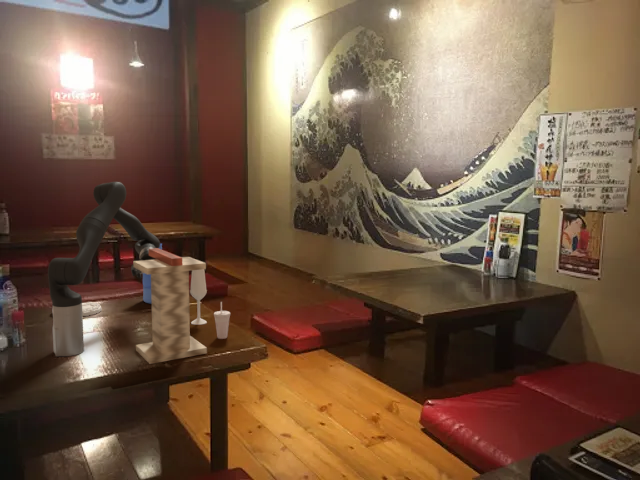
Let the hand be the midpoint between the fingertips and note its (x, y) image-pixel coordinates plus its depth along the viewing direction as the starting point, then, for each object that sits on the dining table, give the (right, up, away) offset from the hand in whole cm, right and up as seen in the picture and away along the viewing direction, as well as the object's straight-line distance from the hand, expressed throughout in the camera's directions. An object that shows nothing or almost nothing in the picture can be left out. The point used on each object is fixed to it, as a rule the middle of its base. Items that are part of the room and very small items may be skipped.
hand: (151, 273), depth 205 cm
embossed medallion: (-43, -20, +32) cm, 57 cm away
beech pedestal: (+13, -27, -18) cm, 35 cm away
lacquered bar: (+11, +6, -18) cm, 22 cm away
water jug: (-13, -17, +55) cm, 59 cm away
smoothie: (+28, -25, -1) cm, 37 cm away
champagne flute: (+14, -22, +19) cm, 32 cm away
